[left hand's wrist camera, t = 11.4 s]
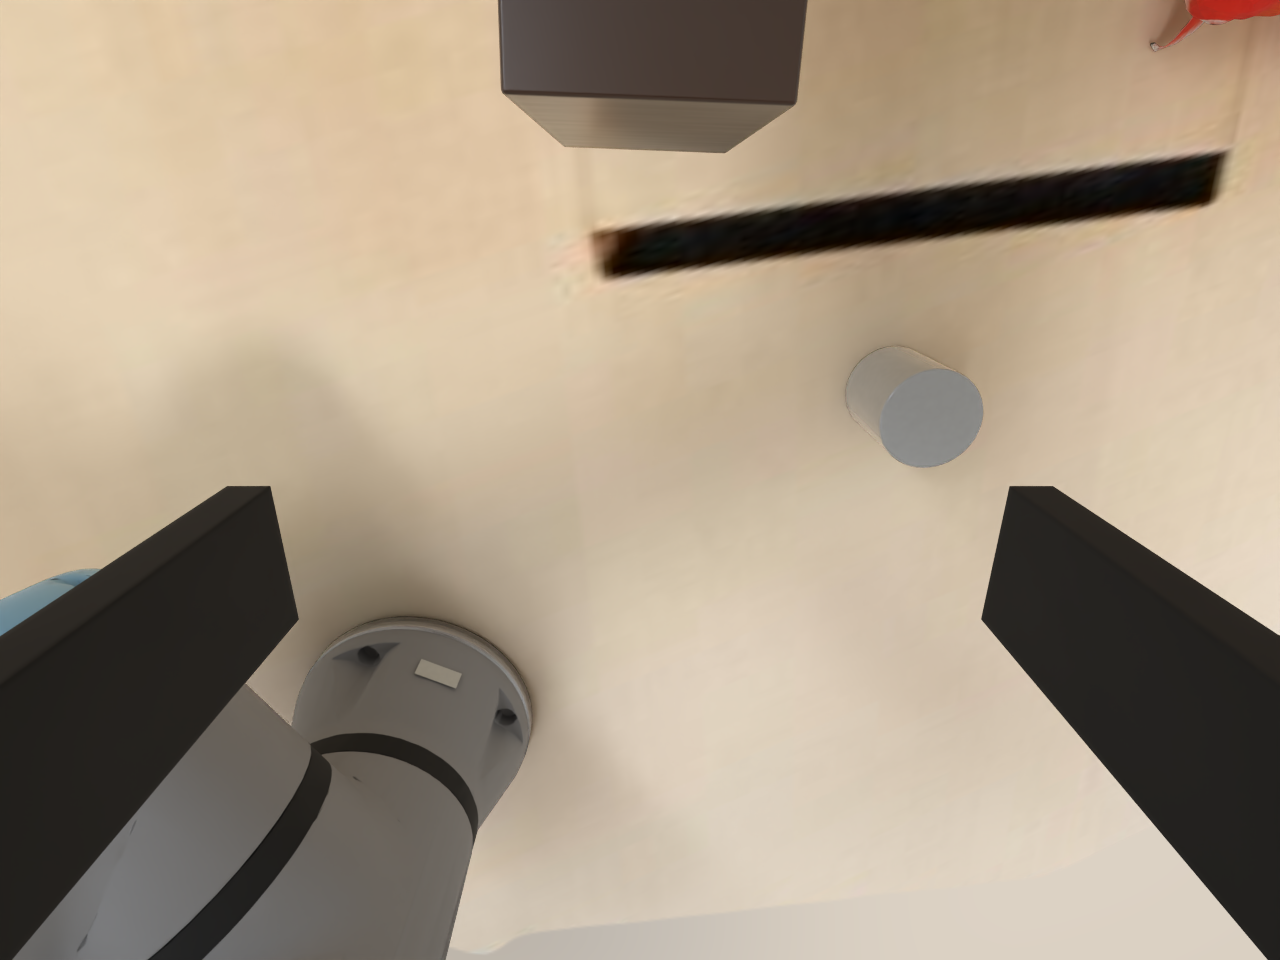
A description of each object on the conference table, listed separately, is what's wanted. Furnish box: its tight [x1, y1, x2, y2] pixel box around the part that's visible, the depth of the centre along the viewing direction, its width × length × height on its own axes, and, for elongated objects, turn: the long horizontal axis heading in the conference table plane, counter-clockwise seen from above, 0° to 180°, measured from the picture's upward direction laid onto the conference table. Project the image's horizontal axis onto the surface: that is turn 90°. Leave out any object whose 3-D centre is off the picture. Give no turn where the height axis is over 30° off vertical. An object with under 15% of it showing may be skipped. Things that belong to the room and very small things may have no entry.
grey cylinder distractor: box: [845, 346, 983, 468], centre depth 36 cm, size 5×5×6 cm
